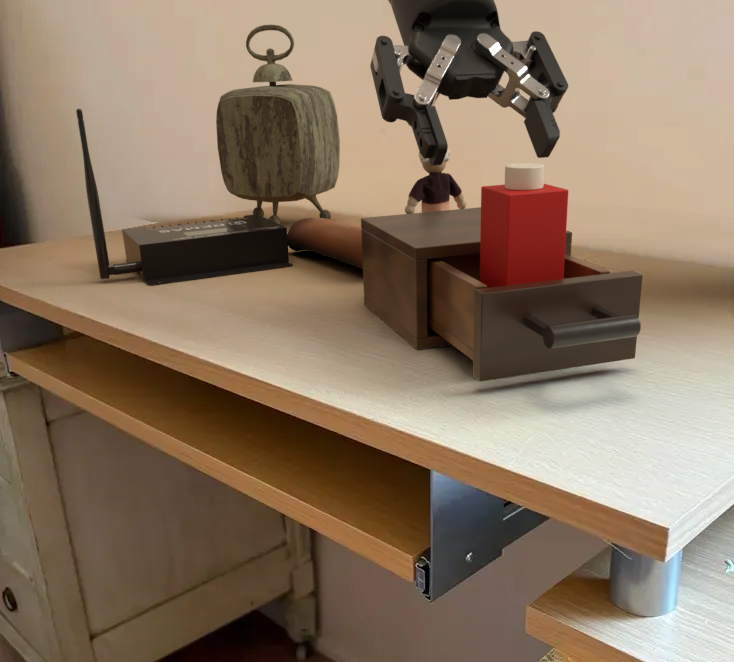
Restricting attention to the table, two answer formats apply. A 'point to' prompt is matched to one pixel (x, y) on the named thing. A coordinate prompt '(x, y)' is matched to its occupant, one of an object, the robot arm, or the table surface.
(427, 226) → the cabinet
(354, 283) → the table surface
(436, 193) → the grandmother figurine
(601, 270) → the drawer
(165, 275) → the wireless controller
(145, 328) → the table surface
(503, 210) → the ketchup bottle
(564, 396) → the table surface
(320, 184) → the tabletop clock
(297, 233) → the sunglasses case
